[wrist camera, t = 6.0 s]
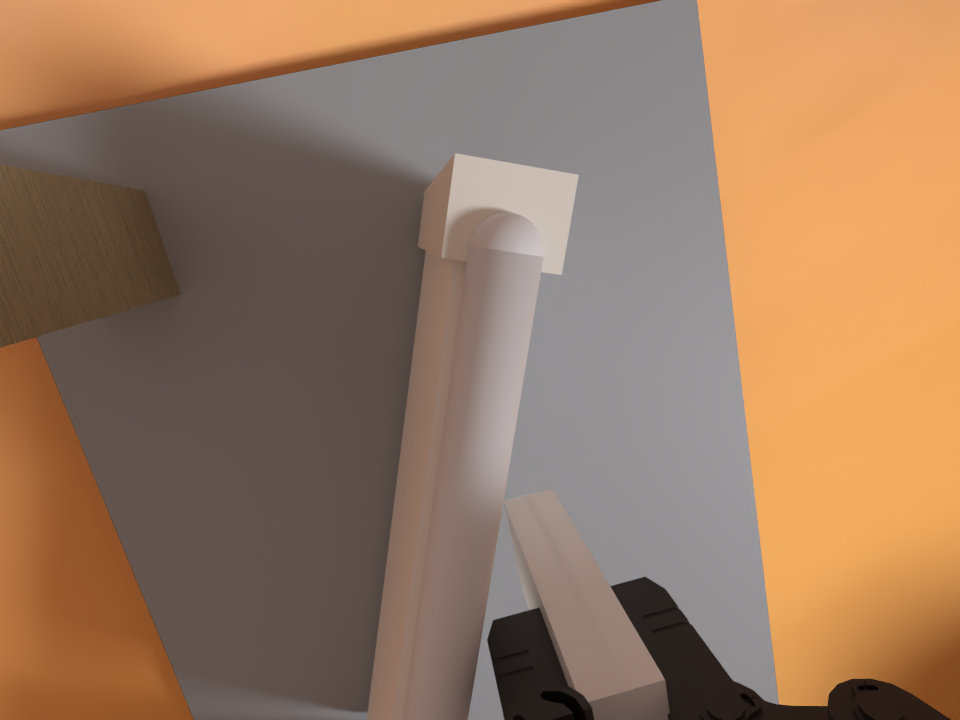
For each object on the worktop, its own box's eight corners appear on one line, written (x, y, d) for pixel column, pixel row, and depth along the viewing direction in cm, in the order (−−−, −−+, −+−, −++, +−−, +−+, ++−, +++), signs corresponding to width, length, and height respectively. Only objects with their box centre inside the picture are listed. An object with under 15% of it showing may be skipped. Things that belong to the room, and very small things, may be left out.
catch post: (191, 291, 18) (-36, 358, 8) (112, 309, 18) (-217, 399, 8) (158, 192, 17) (-133, 141, 8) (74, 210, 17) (-334, 179, 7)
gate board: (765, 702, 25) (780, 721, 24) (269, 862, 23) (263, 890, 22) (680, 6, 18) (696, -7, 17) (-20, 144, 16) (-45, 139, 15)
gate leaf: (416, 723, 21) (434, 1079, 12) (359, 722, 21) (335, 1089, 12) (491, 202, 17) (593, 169, 9) (424, 191, 17) (460, 146, 8)
